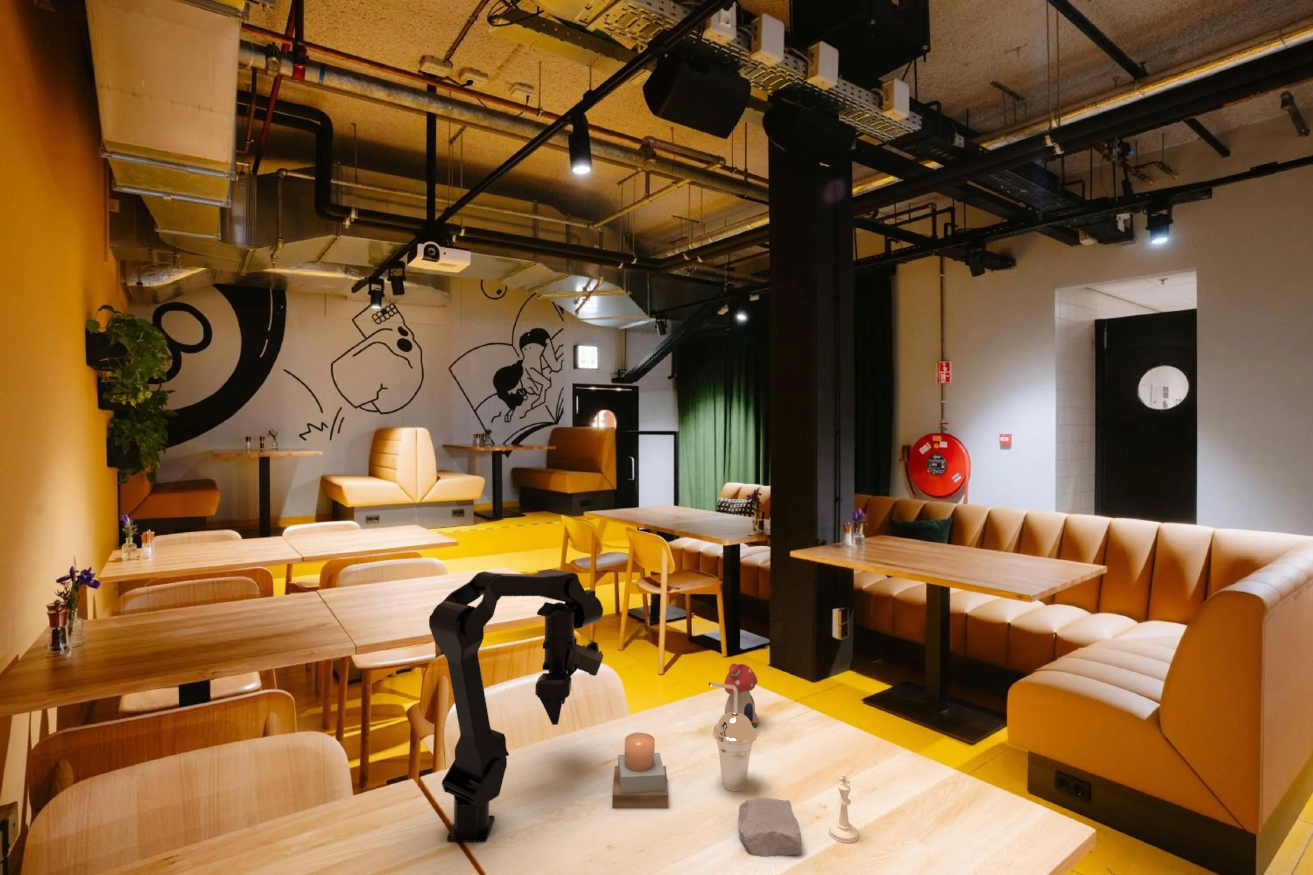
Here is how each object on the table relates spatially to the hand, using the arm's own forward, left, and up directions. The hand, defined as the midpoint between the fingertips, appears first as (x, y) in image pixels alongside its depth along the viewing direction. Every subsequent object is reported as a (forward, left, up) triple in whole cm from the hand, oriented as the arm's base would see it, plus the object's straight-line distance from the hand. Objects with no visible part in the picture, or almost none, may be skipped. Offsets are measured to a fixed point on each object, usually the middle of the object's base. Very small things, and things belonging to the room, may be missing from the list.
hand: (558, 713), depth 129 cm
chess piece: (-18, -51, -12) cm, 55 cm away
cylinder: (-6, -16, -7) cm, 18 cm away
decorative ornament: (+22, -39, -12) cm, 46 cm away
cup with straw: (-3, -34, -12) cm, 36 cm away
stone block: (-18, -38, -12) cm, 44 cm away
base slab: (-6, -16, -13) cm, 22 cm away
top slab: (-6, -16, -10) cm, 20 cm away
